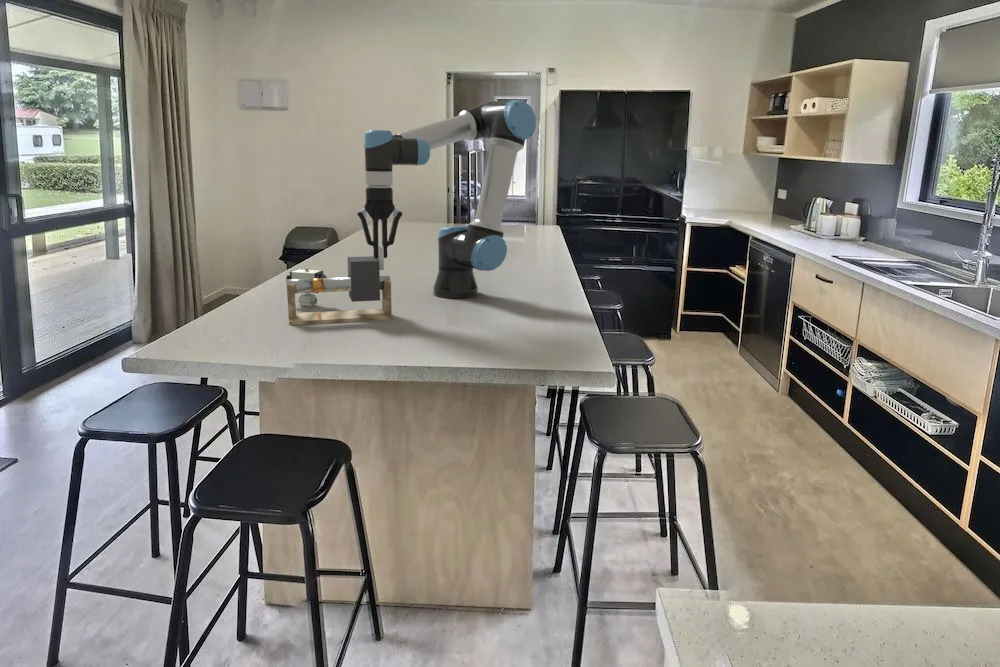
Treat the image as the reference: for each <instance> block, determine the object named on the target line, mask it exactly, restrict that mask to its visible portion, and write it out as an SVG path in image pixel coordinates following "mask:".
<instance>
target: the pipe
mask: <svg viewBox="0 0 1000 667" xmlns="http://www.w3.org/2000/svg"><path fill="white" fill-rule="evenodd" d="M285 280H286V281H287V283H286V285H287V284H294V287H295V294H301V293H303V294H306V293H310V294H314V293H313V292H319V293H326V292H327V293H331V292H333V293H334V292H335V293H336V292H349V291H351V277H348V276H347V277H346V276H344V277H327V278H311V279H286V278H285ZM384 280H391V275H380V291H382V290H383V289H384Z"/></svg>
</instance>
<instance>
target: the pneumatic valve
mask: <svg viewBox="0 0 1000 667" xmlns="http://www.w3.org/2000/svg"><path fill="white" fill-rule="evenodd" d="M311 278H328V276H327V275H326V274H324V270H318V269H317V270H316V269H309V267H304V269H302V268H301V269H299V268H296V269H294V270H290V271H289V273H287V275H286V278H285V280H286V279H311ZM285 284H287V282H286V283H285ZM319 293H320V292H313V293H300V295H299V297H298V303H299V305H300V306H301V307H305V308H307V307H314V306H315V305H317V303H318V298H317V297H316V294H319Z"/></svg>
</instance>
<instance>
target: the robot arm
mask: <svg viewBox="0 0 1000 667" xmlns="http://www.w3.org/2000/svg"><path fill="white" fill-rule="evenodd" d="M535 113H536V112H534V109H533V107H532V106H531V105H530V104H529V103H527V102H526V101H524V100H517V99H510V100H491V101H488V102H484V103H481V104H479V105H476V106H473V107H470V108H468V109H465V110H462V111H460V112H459V114H458V115H457V116H452V117H449V118H446V119H443V120H439V121H436V122H433V123H429V124H425V125H421V126H419V127H415V128H413V129H408V130H406V131H402V132H399V133H396V134H392V131H391V130H387V129H386V130H385V129H384V130H382V129H368V130H366V131H365V133H364V146H363V147H364V164H365V165H364V167H365V185H366V186H367V187H366V188H365V203H364V208H362V209H360V210H358V211H357V212H356V215H357V217H359V219H360V221H361V226H362V230H363V232H364V233H363V234H364V237H365V242H366V244H367V245H369V246H371V247H372V248H373V250H372V251H373V252H372V253H373V256H374V258H377V259H378V260H379V271H384V270H385V259H387V258H388V247H390V246H392V245H394V243H395V238H396V234H397V230H398V225H399V221H400V219H401V218H402V216H403V212H402V211H401V210H398V209H396V208H395V204H394V200H393V199H394V198H393V197H394V196H393V194H394V192H393V191H394V190H393V187H392V186H393V181H394V180H393V166H416V167H417V166H423V165H426V164H427V163H428V162H429V160H430V157H431V150H435V149H438V148H441V147H443V146H447V145H450V144H453V143H457V142H460V141H464V140H466V141H473V140H479V139H487V141H488V142H489V145H490V151H489V156H488V159H487V162H486V163H487V164H486V168H485V173H484V175H483V181H482V185H481V190H480V195H479V199H478V204H477V209H476V211H475V217H474V219H473V220H472V221H471V222H469V223H468V225H461V226H447V227H446V226H444V227H440V229H439V230H438V238H437V241H438V243H437V244H438V246H437V247H438V272H437V274H436V278H435V281H434V283H433V284H434V285H433V295H434V296H436V297H439V298H447V299H467V298H472V297H473V298H474V297H476V296H477V295H478V294H479V292H478V291H479V288H478V283H477V281H476V277H475V274H474V270H478V271H482V272H483V271H486V272H490V271H494V270H496V269H497V268H499V267H500V266H501V265H502V264H503V263H504V261H505V259H506V258H507V257H506V256H507V254H508V245H506V241H505V239H504V234H505V231H504V230H503V228H502V221H503V218H504V213H505V207H506V203H507V199H508V195H509V191H510V186H511V181H512V178H513V174H514V169H515V164H516V161H517V156H518V153H519V151H521V150H523V149H524V146H525V143H526V140H528V139H529V138H531V136H533V135H534V133H535V130H536V128H537V117H536V114H535ZM367 215H369V217H370V218H371V220H372V238H371V233H370V229H369V226H368V223H367V219H366V217H367ZM391 215H392V216H393V218H392V219H393V220H392V223H391V227H390V232H389V235H388V219H389V218H390V216H391ZM379 220H381V221H380V222H381V246H380V245H379Z"/></svg>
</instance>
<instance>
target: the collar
mask: <svg viewBox="0 0 1000 667" xmlns="http://www.w3.org/2000/svg"><path fill="white" fill-rule="evenodd" d="M380 276H381V275H380V270H379V260H378V259H377V258H374V255H372V256H367V255H365V256H347V277H351V291H348V297H349V299H350V300H351V302H352V303H355V302H357V303H358V302H373V301H375V302H377V301H381V290H380Z"/></svg>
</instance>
